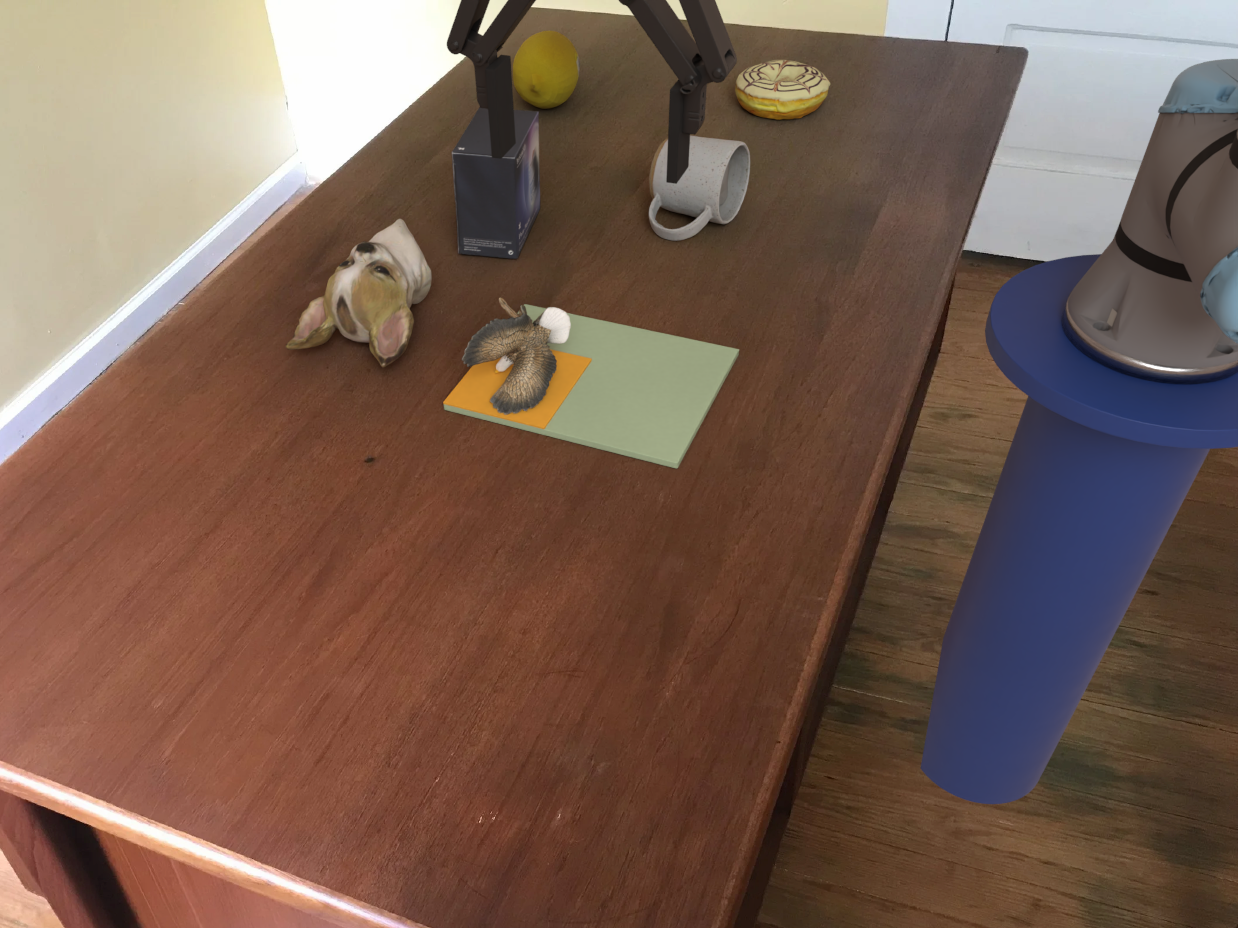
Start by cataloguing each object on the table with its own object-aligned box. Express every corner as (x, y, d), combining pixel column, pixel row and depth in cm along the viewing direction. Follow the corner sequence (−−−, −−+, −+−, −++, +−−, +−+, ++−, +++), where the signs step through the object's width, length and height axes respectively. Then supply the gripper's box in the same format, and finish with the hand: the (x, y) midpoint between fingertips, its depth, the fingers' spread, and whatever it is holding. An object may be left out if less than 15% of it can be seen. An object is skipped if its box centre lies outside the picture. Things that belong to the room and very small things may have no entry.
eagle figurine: (475, 331, 94) (441, 375, 87) (519, 269, 90) (487, 309, 83) (546, 385, 95) (518, 433, 88) (593, 325, 91) (567, 370, 84)
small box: (521, 261, 106) (517, 157, 99) (456, 256, 107) (447, 153, 100) (544, 208, 113) (541, 108, 106) (483, 204, 115) (476, 104, 107)
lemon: (562, 125, 127) (561, 54, 122) (500, 117, 130) (496, 47, 124) (594, 88, 134) (594, 20, 128) (535, 81, 136) (532, 13, 131)
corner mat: (738, 355, 93) (739, 347, 93) (677, 469, 83) (677, 461, 83) (524, 309, 100) (524, 301, 100) (443, 410, 90) (443, 402, 89)
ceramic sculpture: (453, 209, 96) (378, 309, 87) (464, 293, 102) (396, 394, 93) (345, 194, 99) (262, 289, 90) (362, 277, 105) (286, 373, 96)
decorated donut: (832, 90, 130) (837, 58, 128) (818, 128, 123) (824, 95, 121) (744, 82, 133) (748, 50, 130) (726, 119, 126) (729, 86, 123)
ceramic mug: (674, 187, 115) (678, 115, 110) (748, 203, 112) (755, 130, 106) (628, 234, 109) (629, 160, 103) (704, 253, 106) (710, 178, 100)
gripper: (371, -169, 67) (414, 162, 82) (774, -155, 59) (740, 210, 74) (427, -197, 72) (458, 121, 87) (807, -189, 64) (770, 162, 79)
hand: (588, 162), depth 80 cm, fingers open, 13 cm apart
